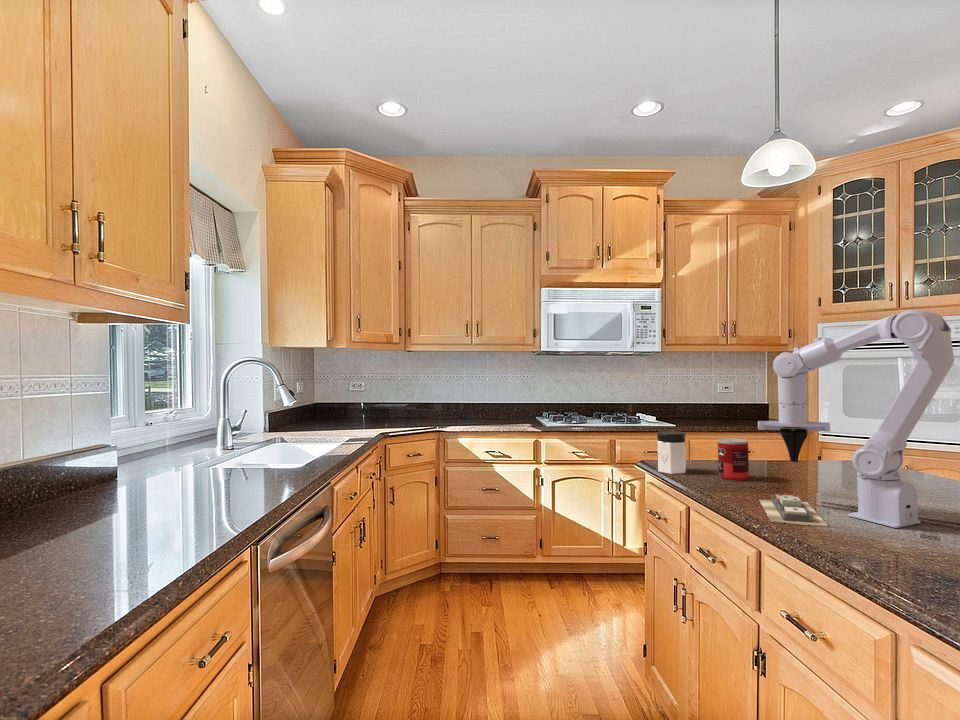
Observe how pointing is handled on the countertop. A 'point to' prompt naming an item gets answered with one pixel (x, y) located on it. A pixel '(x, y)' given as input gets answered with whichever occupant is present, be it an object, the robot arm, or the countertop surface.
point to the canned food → (733, 459)
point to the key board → (779, 515)
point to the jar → (671, 452)
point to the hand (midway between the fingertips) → (793, 461)
